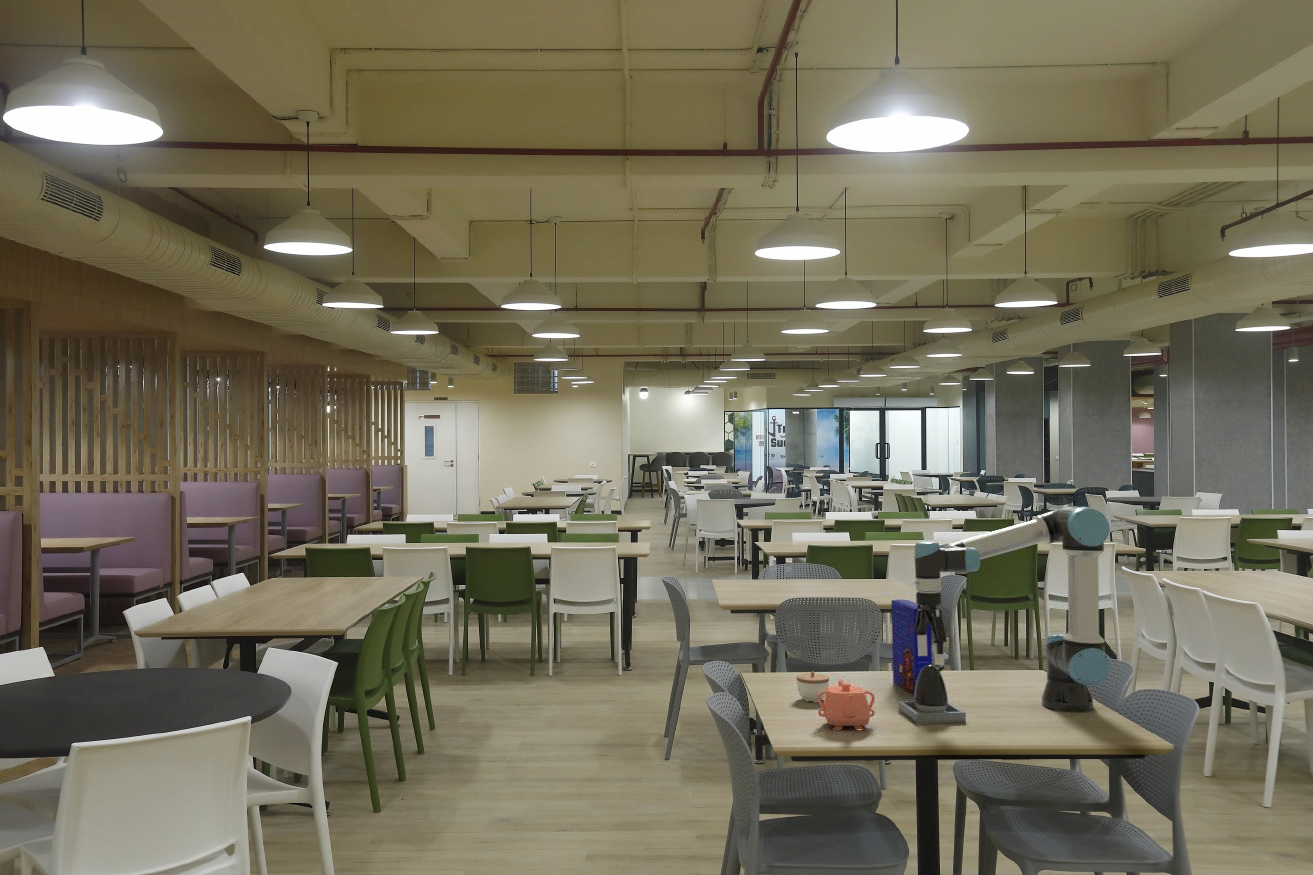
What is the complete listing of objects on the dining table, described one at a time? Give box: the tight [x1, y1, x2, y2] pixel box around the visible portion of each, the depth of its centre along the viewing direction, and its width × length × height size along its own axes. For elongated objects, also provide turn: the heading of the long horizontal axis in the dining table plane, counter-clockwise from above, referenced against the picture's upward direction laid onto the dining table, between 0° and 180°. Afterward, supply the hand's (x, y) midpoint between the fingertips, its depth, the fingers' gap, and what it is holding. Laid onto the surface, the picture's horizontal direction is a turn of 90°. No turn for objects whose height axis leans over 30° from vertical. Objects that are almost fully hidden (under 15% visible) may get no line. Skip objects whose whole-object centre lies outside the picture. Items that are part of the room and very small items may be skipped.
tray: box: [897, 700, 967, 725], centre depth 280 cm, size 15×15×3 cm
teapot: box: [817, 678, 876, 730], centre depth 271 cm, size 15×17×13 cm
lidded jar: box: [796, 671, 830, 703], centre depth 302 cm, size 11×11×9 cm
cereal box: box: [891, 599, 933, 697], centre depth 316 cm, size 22×6×30 cm, turn 5°
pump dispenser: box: [913, 664, 949, 713], centre depth 280 cm, size 10×10×15 cm
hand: (930, 660), depth 280 cm, fingers open, 13 cm apart
